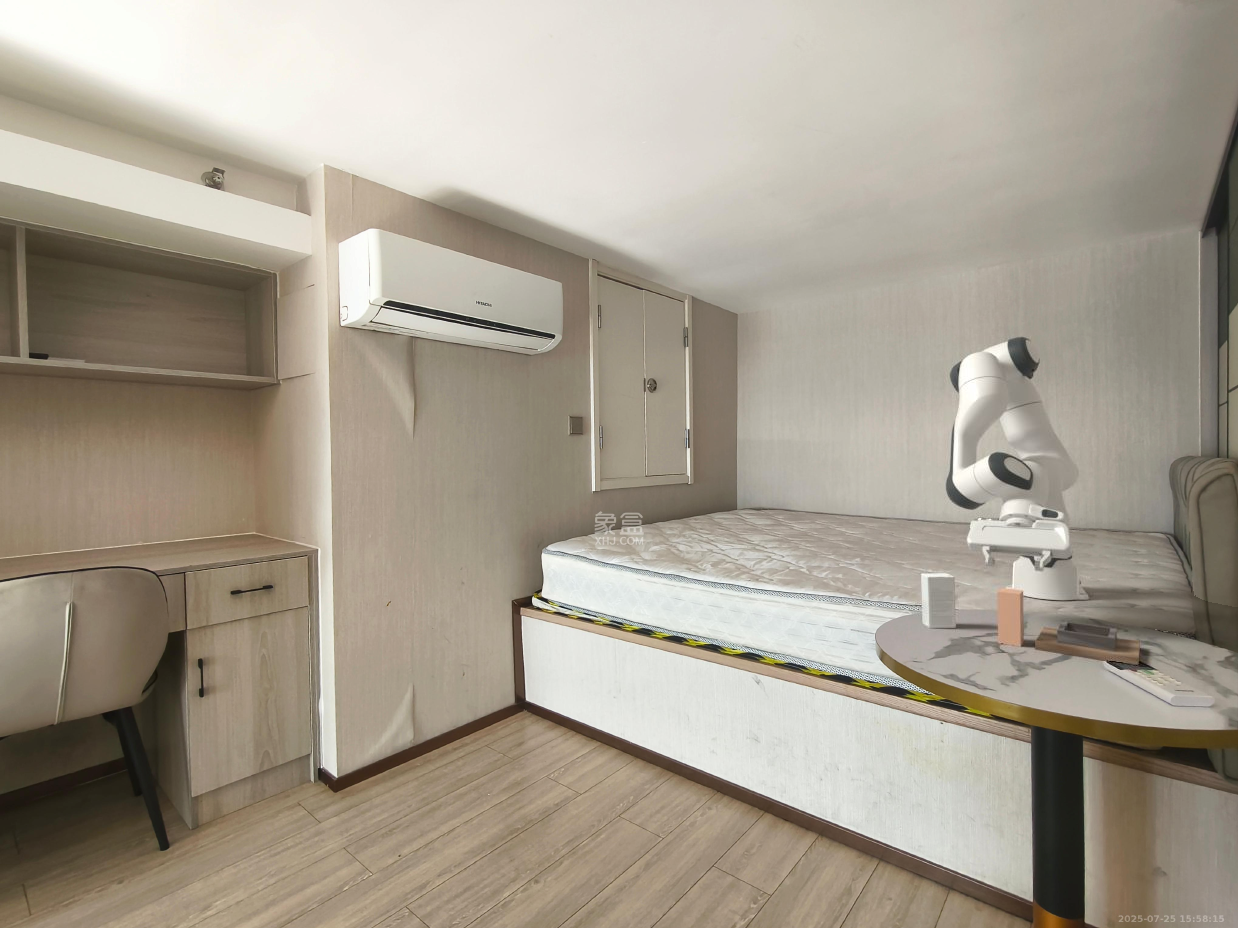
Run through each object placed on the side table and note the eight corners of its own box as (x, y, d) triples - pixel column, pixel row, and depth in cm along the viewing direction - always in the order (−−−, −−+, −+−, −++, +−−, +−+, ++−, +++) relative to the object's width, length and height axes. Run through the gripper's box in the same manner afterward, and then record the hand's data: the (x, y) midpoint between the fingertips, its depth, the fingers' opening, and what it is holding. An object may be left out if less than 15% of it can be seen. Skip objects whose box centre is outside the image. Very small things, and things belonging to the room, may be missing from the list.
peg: (1001, 638, 130) (1001, 587, 130) (1023, 641, 128) (1023, 590, 127) (998, 642, 127) (997, 591, 127) (1020, 646, 125) (1020, 593, 124)
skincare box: (947, 623, 142) (947, 572, 142) (956, 628, 138) (955, 576, 138) (921, 623, 143) (920, 572, 143) (928, 628, 139) (927, 576, 138)
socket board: (1044, 633, 133) (1043, 615, 132) (1139, 648, 122) (1139, 628, 122) (1035, 648, 123) (1034, 629, 123) (1138, 666, 112) (1138, 645, 112)
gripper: (969, 509, 148) (959, 554, 141) (1072, 513, 134) (1067, 563, 127) (974, 525, 151) (964, 570, 144) (1075, 531, 137) (1070, 581, 130)
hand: (1013, 567), depth 135 cm, fingers open, 8 cm apart
